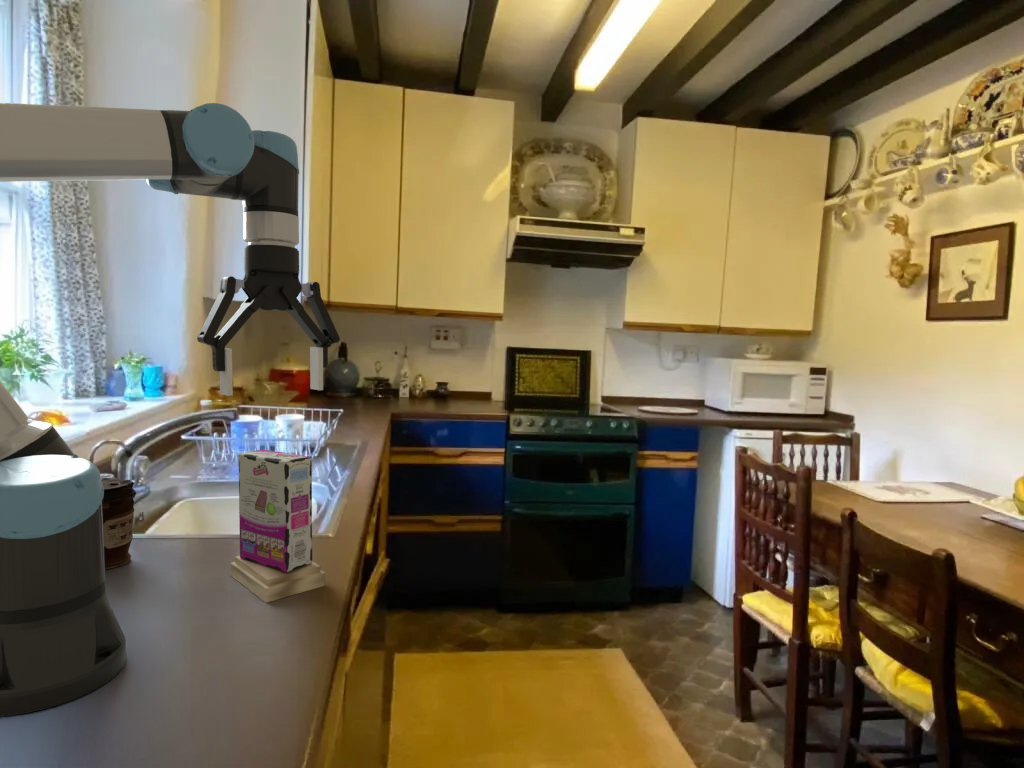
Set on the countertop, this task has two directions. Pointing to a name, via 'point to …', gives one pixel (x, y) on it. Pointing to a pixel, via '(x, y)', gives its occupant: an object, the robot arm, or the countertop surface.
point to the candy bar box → (275, 509)
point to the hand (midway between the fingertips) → (273, 392)
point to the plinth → (276, 579)
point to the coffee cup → (117, 521)
